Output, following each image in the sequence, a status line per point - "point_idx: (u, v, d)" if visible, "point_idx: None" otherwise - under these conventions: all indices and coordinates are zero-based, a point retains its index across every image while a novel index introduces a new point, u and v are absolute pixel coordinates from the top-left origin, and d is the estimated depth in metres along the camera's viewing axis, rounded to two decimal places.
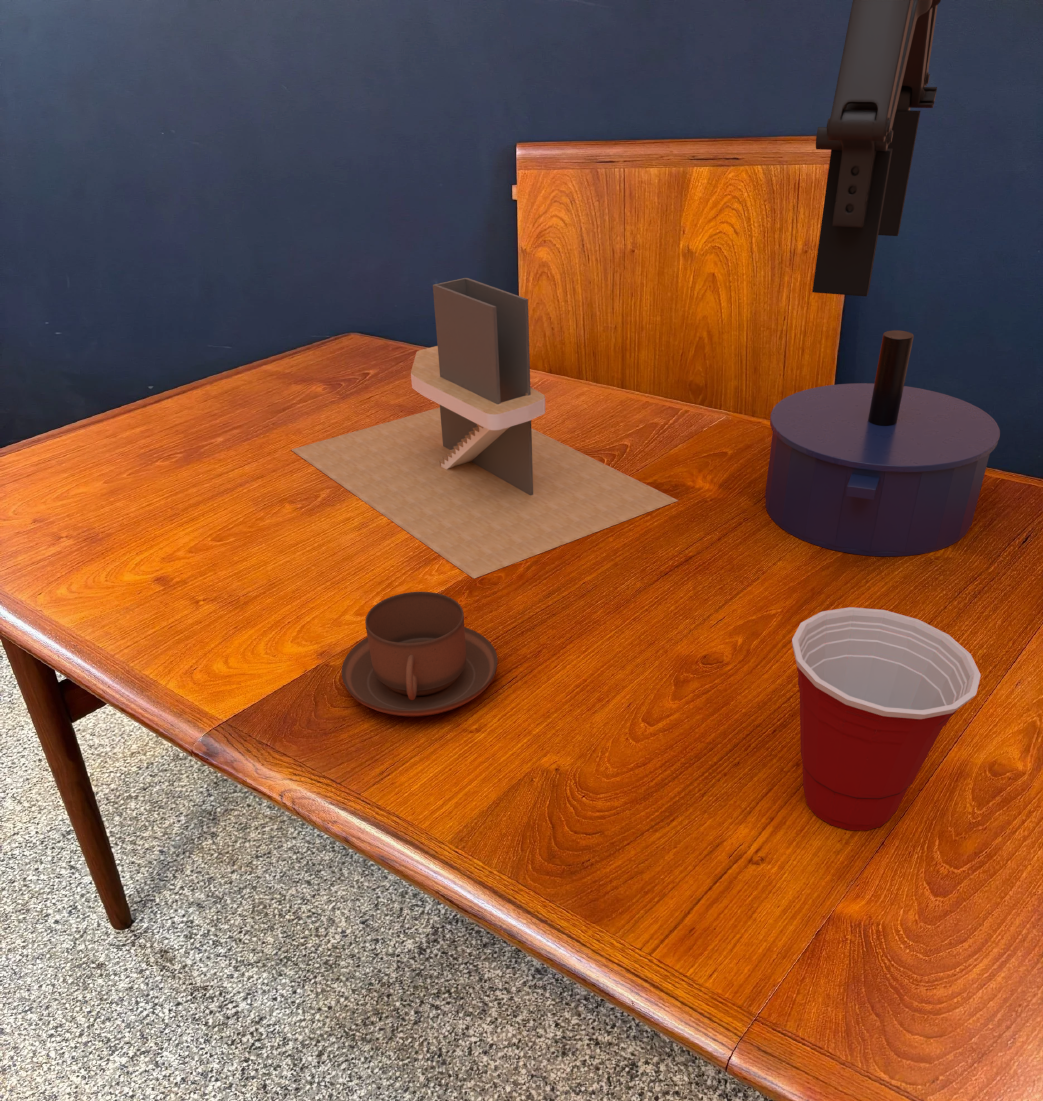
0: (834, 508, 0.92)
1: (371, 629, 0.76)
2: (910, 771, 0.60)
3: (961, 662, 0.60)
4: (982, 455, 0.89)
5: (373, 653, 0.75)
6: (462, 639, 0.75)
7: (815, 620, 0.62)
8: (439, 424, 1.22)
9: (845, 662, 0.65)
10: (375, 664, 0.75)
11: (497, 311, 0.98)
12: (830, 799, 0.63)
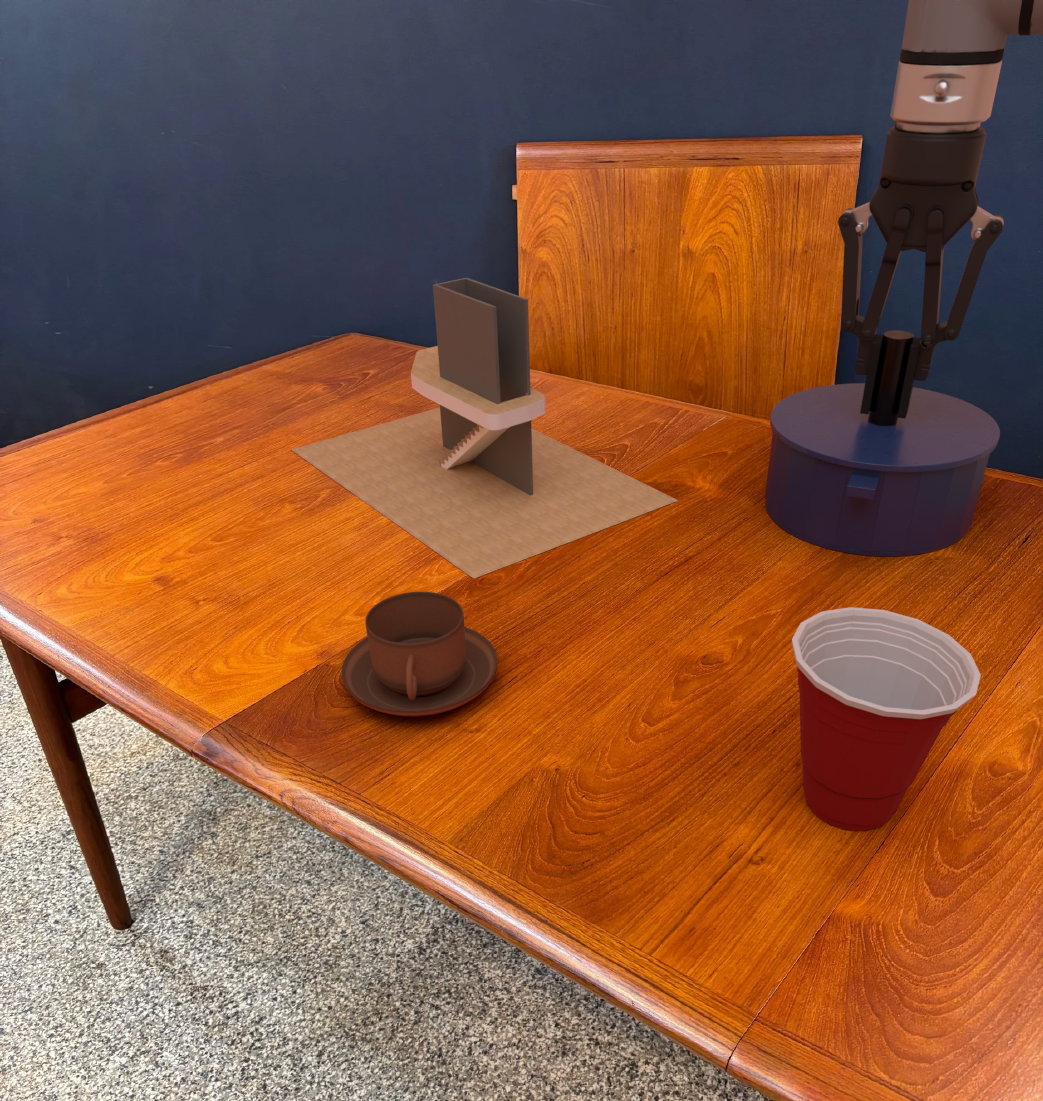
0: (834, 508, 0.92)
1: (371, 629, 0.76)
2: (910, 771, 0.60)
3: (961, 662, 0.60)
4: (982, 455, 0.89)
5: (373, 653, 0.75)
6: (462, 639, 0.75)
7: (815, 620, 0.62)
8: (440, 424, 1.22)
9: (845, 662, 0.65)
10: (375, 664, 0.75)
11: (497, 311, 0.98)
12: (830, 799, 0.63)
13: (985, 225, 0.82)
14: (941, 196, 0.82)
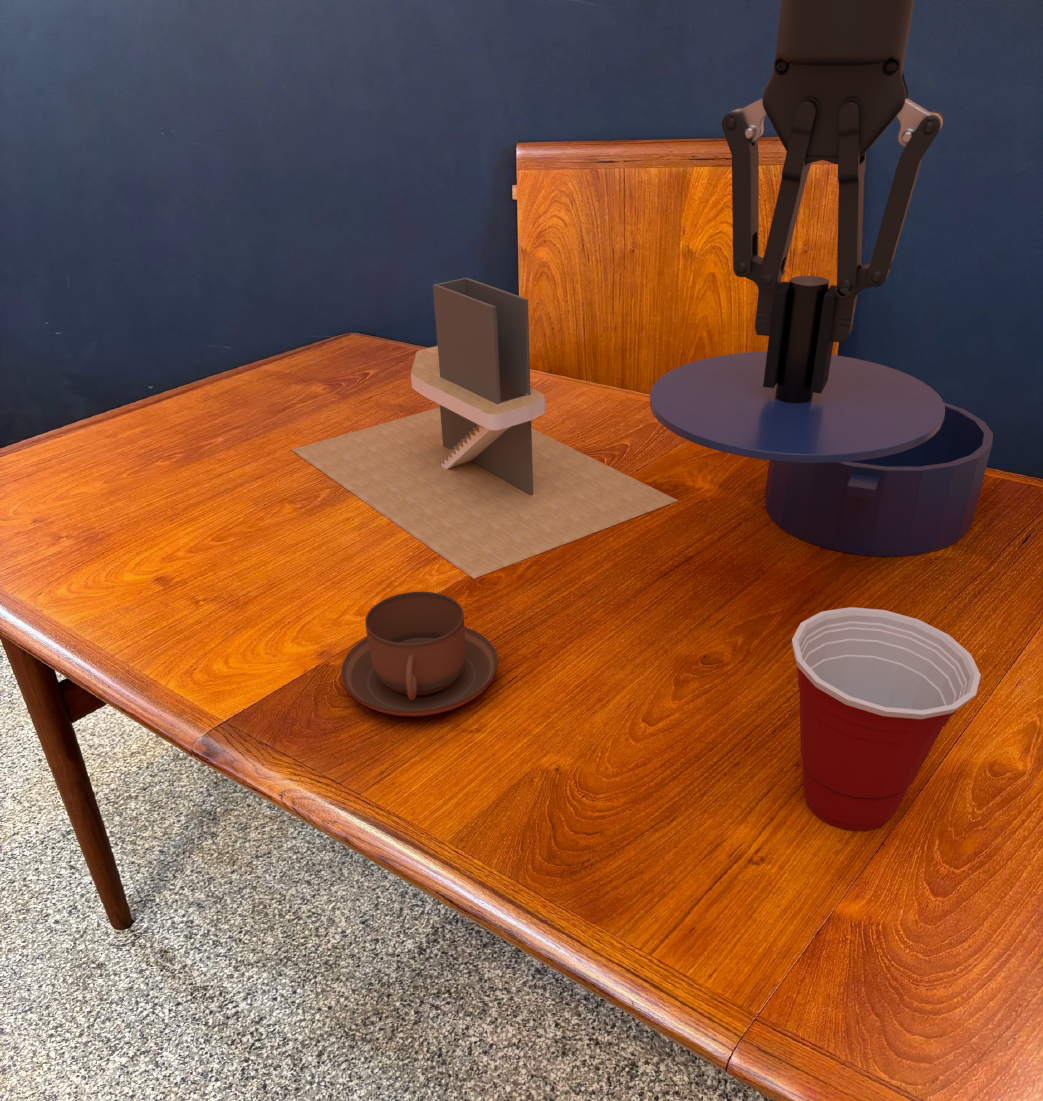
0: (834, 508, 0.92)
1: (371, 629, 0.76)
2: (910, 771, 0.60)
3: (961, 662, 0.60)
4: (918, 441, 0.66)
5: (373, 653, 0.75)
6: (462, 639, 0.75)
7: (815, 620, 0.62)
8: (440, 424, 1.22)
9: (845, 662, 0.65)
10: (375, 664, 0.75)
11: (497, 311, 0.98)
12: (830, 799, 0.63)
13: (917, 124, 0.60)
14: (856, 83, 0.60)
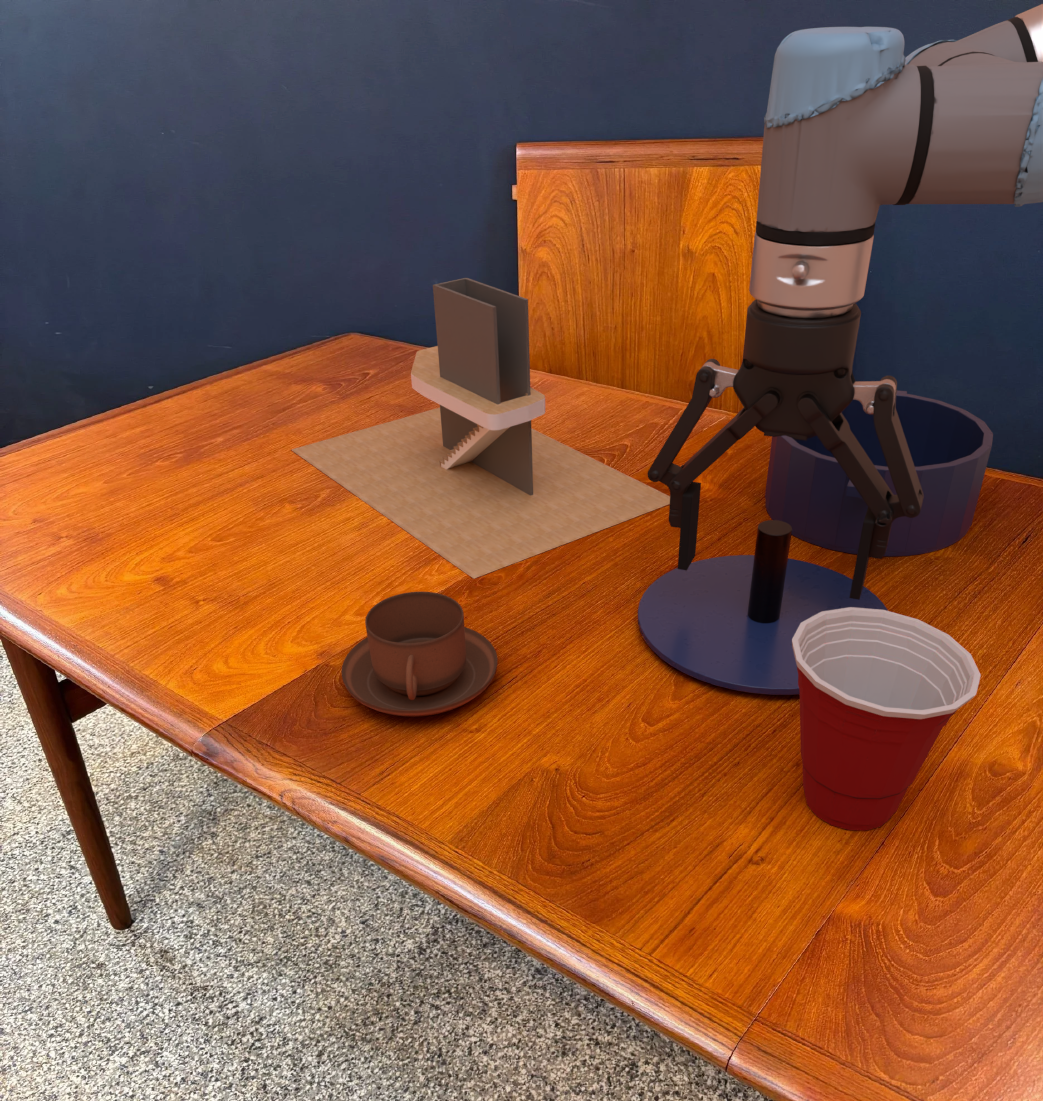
0: (834, 508, 0.92)
1: (371, 629, 0.76)
2: (910, 771, 0.60)
3: (961, 662, 0.60)
4: None
5: (373, 653, 0.75)
6: (462, 639, 0.75)
7: (815, 620, 0.62)
8: (440, 424, 1.22)
9: (845, 662, 0.65)
10: (375, 664, 0.75)
11: (497, 311, 0.98)
12: (830, 799, 0.63)
13: (874, 396, 0.69)
14: (812, 381, 0.70)
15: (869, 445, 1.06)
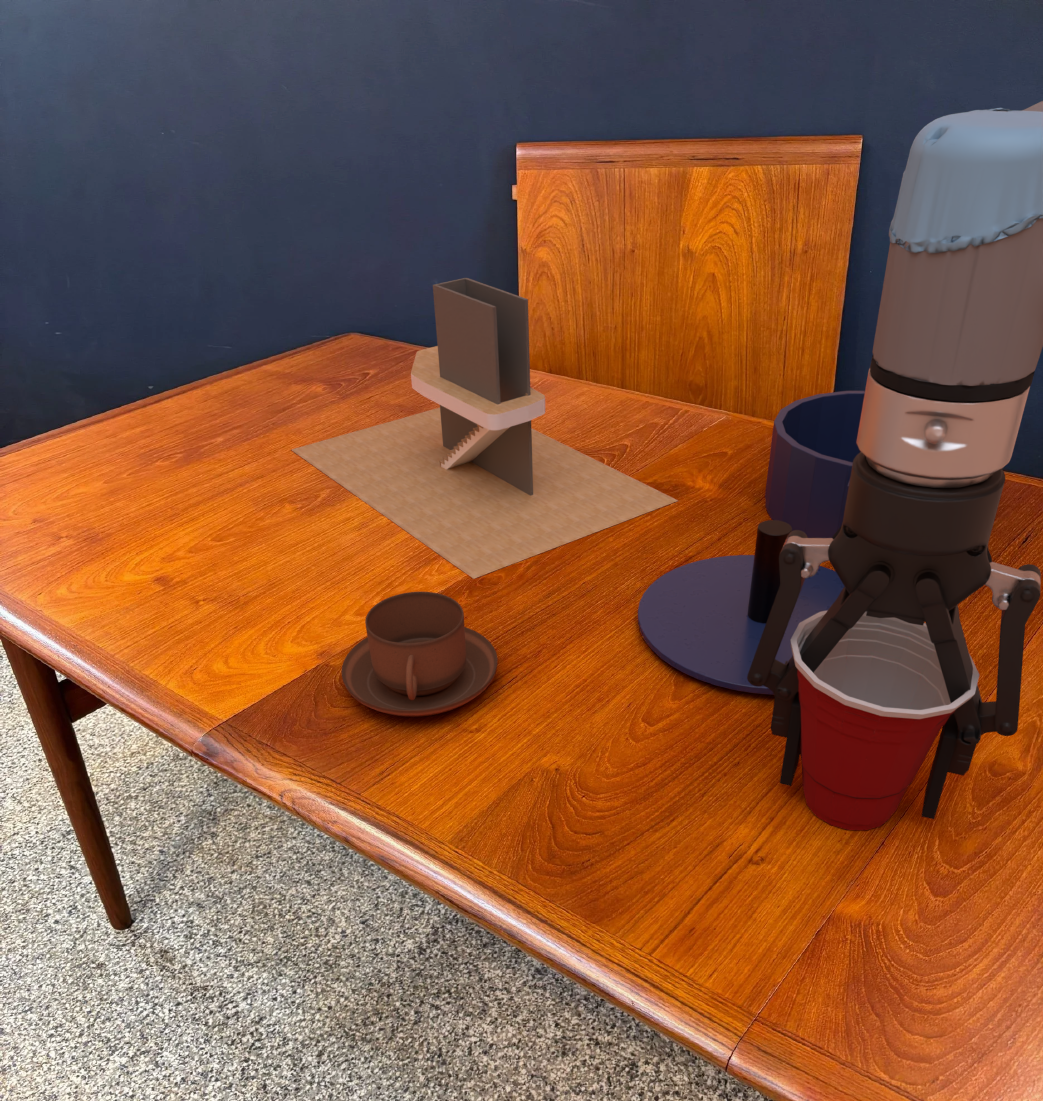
0: (834, 508, 0.92)
1: (371, 629, 0.76)
2: (909, 771, 0.60)
3: None
4: None
5: (373, 653, 0.75)
6: (462, 639, 0.75)
7: (814, 620, 0.62)
8: (440, 424, 1.22)
9: (844, 662, 0.65)
10: (375, 664, 0.75)
11: (497, 311, 0.98)
12: (829, 799, 0.63)
13: (1012, 588, 0.54)
14: (935, 557, 0.54)
15: None
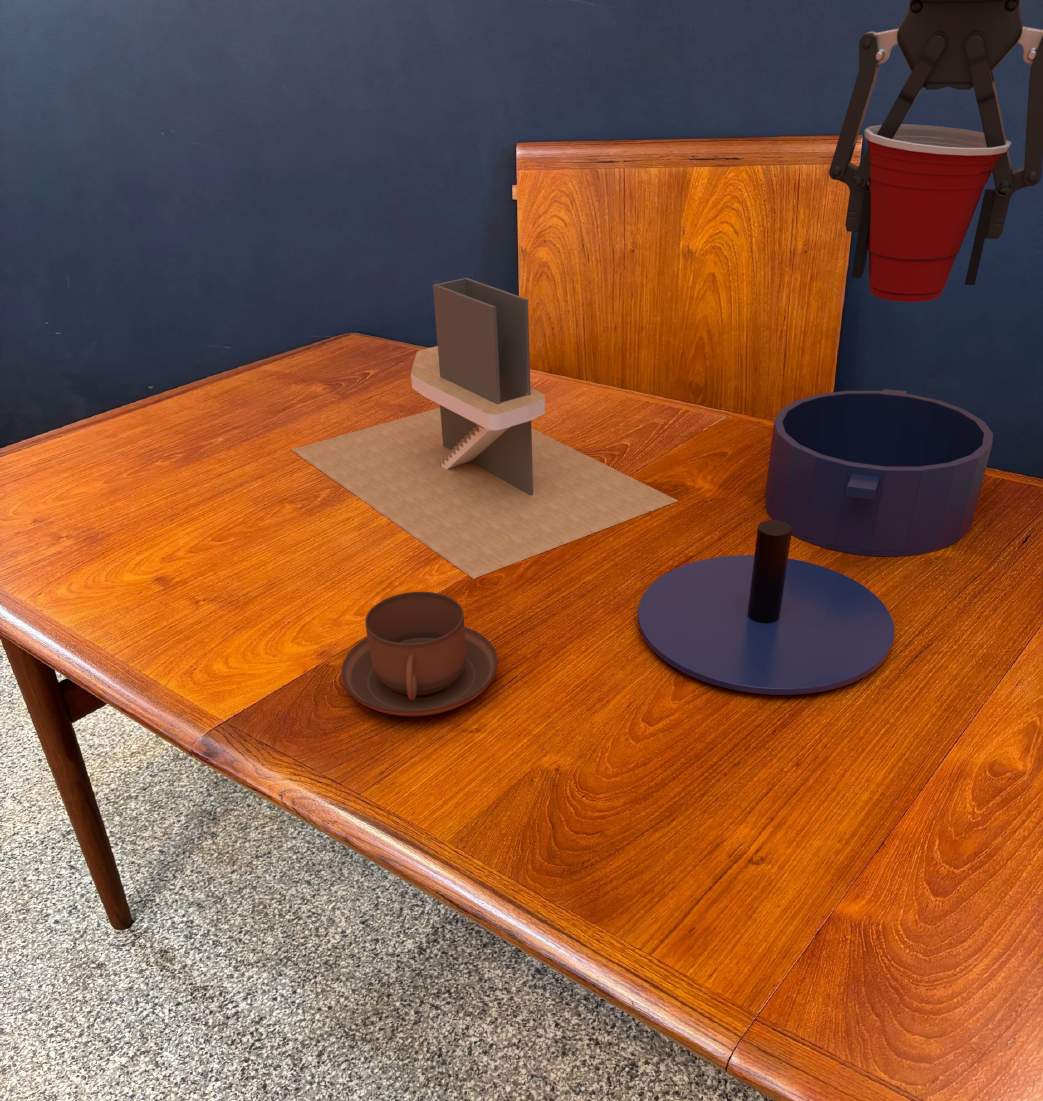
0: (834, 508, 0.92)
1: (371, 629, 0.76)
2: (957, 230, 0.78)
3: None
4: (869, 671, 0.77)
5: (373, 653, 0.75)
6: (462, 639, 0.75)
7: (880, 126, 0.80)
8: (440, 424, 1.22)
9: None
10: (375, 664, 0.75)
11: (497, 311, 0.98)
12: (893, 270, 0.81)
13: (1038, 42, 0.71)
14: (981, 19, 0.71)
15: (869, 445, 1.06)
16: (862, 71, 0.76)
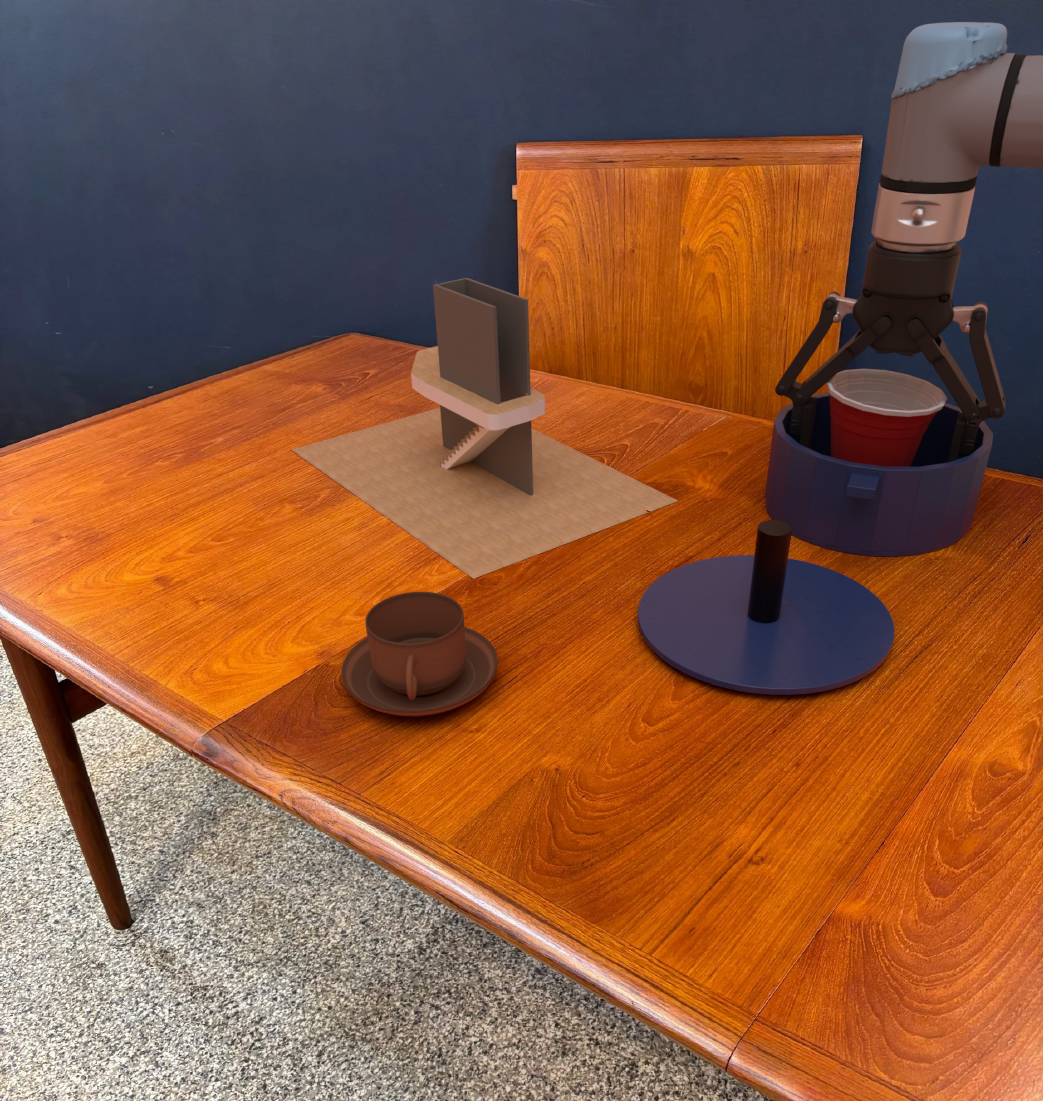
0: (834, 508, 0.92)
1: (371, 629, 0.76)
2: (902, 465, 0.94)
3: (935, 394, 0.94)
4: (869, 671, 0.77)
5: (373, 653, 0.75)
6: (462, 639, 0.75)
7: (841, 373, 0.96)
8: (440, 425, 1.22)
9: None
10: (375, 664, 0.75)
11: (497, 311, 0.98)
12: None
13: (969, 317, 0.87)
14: (919, 306, 0.87)
15: None
16: (820, 324, 0.91)
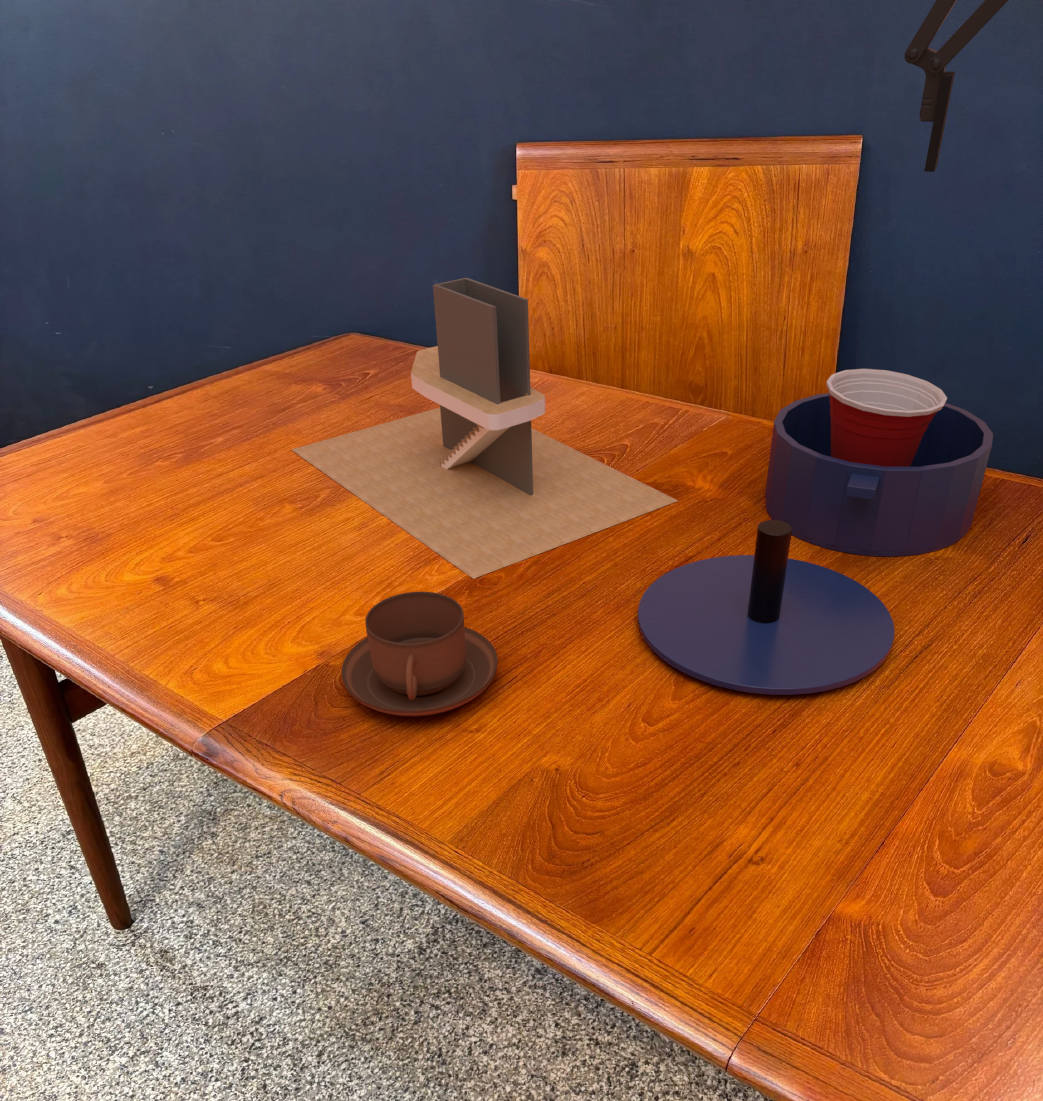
0: (834, 508, 0.92)
1: (371, 629, 0.76)
2: (902, 465, 0.94)
3: (935, 394, 0.94)
4: (869, 671, 0.77)
5: (373, 653, 0.75)
6: (462, 639, 0.75)
7: (841, 373, 0.96)
8: (440, 424, 1.22)
9: None
10: (375, 664, 0.75)
11: (497, 311, 0.98)
12: None
13: None
14: None
15: None
16: None
